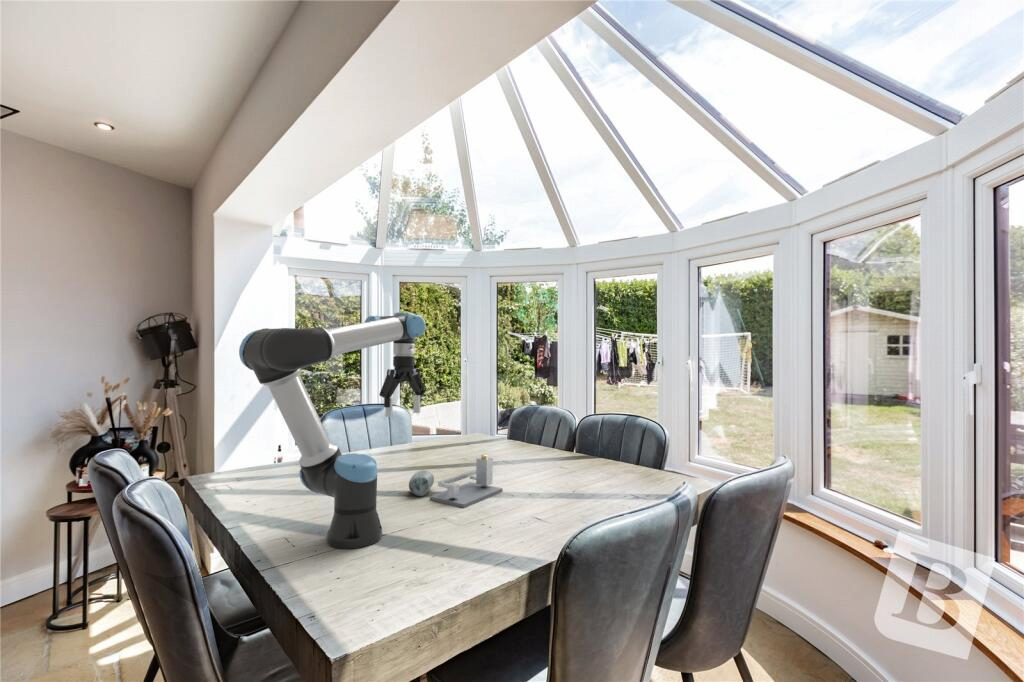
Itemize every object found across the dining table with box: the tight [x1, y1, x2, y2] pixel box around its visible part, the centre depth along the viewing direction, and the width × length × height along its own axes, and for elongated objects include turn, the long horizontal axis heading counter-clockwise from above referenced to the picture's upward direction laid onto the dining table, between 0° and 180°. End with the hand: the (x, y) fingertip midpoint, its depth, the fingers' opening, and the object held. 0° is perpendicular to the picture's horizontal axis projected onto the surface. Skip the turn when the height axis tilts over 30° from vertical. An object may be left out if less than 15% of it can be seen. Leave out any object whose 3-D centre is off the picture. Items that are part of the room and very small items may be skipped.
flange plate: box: [429, 481, 503, 509], centre depth 179 cm, size 24×16×1 cm, turn 147°
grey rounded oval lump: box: [408, 469, 435, 497], centre depth 182 cm, size 14×10×10 cm
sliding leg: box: [469, 454, 494, 486], centre depth 187 cm, size 4×9×12 cm, turn 57°
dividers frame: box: [437, 469, 476, 499], centre depth 180 cm, size 24×9×5 cm, turn 147°
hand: (403, 414), depth 169 cm, fingers open, 13 cm apart
